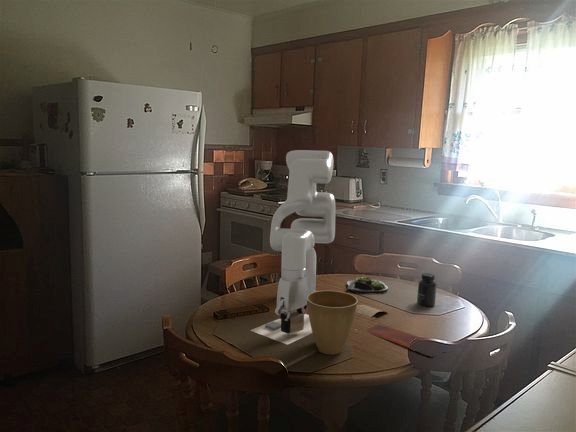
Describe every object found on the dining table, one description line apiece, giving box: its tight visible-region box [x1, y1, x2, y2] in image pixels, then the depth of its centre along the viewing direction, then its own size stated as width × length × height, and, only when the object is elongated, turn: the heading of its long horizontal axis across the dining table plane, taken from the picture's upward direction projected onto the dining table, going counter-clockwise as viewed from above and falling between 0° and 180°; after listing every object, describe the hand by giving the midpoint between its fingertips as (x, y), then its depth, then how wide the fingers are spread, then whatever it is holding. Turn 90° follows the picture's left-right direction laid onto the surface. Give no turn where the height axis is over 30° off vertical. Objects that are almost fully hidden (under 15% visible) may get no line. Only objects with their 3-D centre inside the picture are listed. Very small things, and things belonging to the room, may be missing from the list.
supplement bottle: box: [416, 272, 437, 308], centre depth 181 cm, size 7×7×12 cm
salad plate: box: [346, 276, 389, 294], centre depth 203 cm, size 19×18×5 cm
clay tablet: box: [355, 304, 388, 318], centre depth 170 cm, size 14×10×3 cm
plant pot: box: [307, 290, 359, 356], centre depth 139 cm, size 15×15×16 cm
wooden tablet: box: [366, 324, 420, 349], centre depth 148 cm, size 27×10×2 cm, turn 40°
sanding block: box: [282, 310, 304, 335], centre depth 147 cm, size 4×6×5 cm, turn 139°
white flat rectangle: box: [249, 313, 313, 345], centre depth 154 cm, size 16×24×1 cm, turn 139°
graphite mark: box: [264, 320, 281, 331], centre depth 153 cm, size 4×4×1 cm
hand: (292, 328), depth 147 cm, fingers closed on sanding block, 6 cm apart
